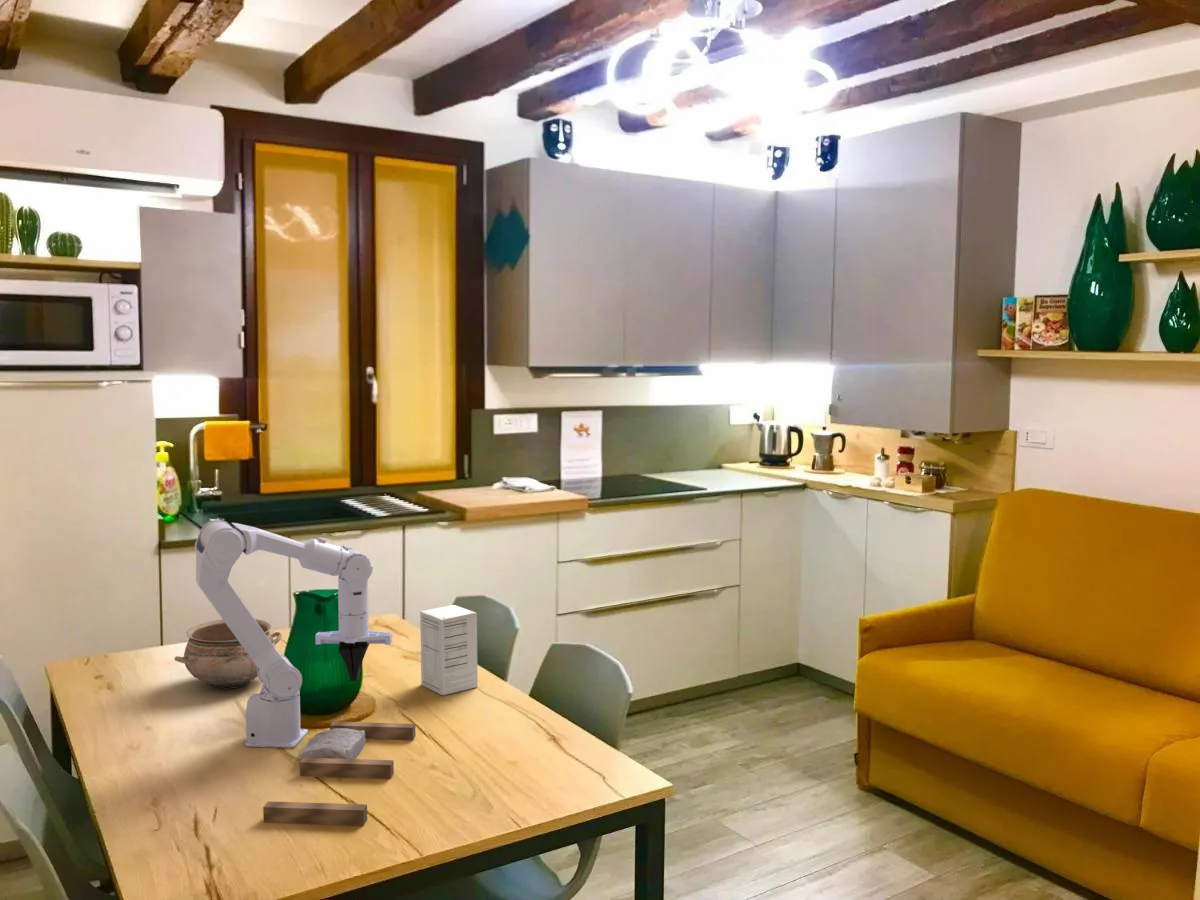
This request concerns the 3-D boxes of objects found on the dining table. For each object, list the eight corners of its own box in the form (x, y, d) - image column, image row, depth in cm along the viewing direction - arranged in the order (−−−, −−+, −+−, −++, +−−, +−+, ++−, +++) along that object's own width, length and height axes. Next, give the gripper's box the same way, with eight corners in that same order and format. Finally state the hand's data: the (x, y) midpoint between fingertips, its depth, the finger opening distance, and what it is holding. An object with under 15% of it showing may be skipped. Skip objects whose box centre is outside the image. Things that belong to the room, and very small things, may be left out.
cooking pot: (258, 660, 240) (257, 610, 238) (305, 678, 228) (304, 625, 226) (155, 688, 221) (152, 633, 219) (199, 709, 209) (198, 651, 207)
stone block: (298, 779, 181) (353, 770, 180) (293, 754, 180) (348, 744, 180) (319, 754, 192) (370, 745, 192) (313, 730, 192) (365, 721, 192)
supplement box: (478, 687, 223) (478, 612, 221) (442, 696, 217) (442, 619, 215) (455, 676, 231) (455, 603, 229) (419, 684, 225) (419, 610, 223)
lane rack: (263, 822, 161) (263, 807, 160) (333, 733, 196) (333, 721, 196) (363, 825, 160) (363, 810, 160) (415, 736, 196) (415, 723, 195)
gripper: (310, 617, 194) (312, 686, 196) (386, 617, 194) (387, 686, 196) (320, 607, 201) (321, 674, 203) (393, 607, 201) (394, 674, 203)
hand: (354, 679), depth 200 cm, fingers closed
